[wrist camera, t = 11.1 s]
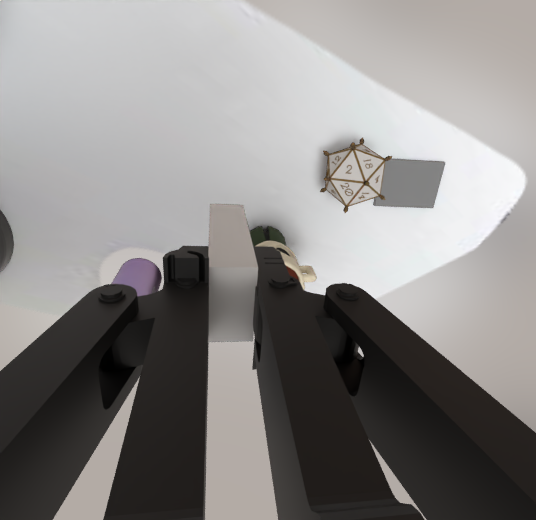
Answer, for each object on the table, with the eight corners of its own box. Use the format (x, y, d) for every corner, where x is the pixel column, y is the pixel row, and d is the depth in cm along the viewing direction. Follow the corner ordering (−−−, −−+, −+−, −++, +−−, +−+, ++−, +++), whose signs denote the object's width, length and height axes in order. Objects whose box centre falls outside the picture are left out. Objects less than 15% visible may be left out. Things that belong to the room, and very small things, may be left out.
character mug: (301, 221, 52) (323, 259, 41) (298, 265, 55) (318, 312, 44) (226, 222, 51) (226, 261, 40) (227, 267, 54) (228, 315, 43)
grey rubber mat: (373, 204, 52) (374, 205, 52) (382, 158, 50) (384, 159, 49) (431, 206, 54) (433, 208, 53) (443, 161, 51) (445, 162, 50)
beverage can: (120, 253, 52) (83, 311, 38) (163, 258, 53) (142, 317, 39) (120, 289, 54) (84, 356, 40) (161, 293, 55) (140, 360, 41)
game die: (376, 188, 51) (409, 208, 42) (320, 206, 52) (340, 231, 43) (366, 124, 48) (399, 132, 39) (304, 145, 48) (323, 158, 39)
